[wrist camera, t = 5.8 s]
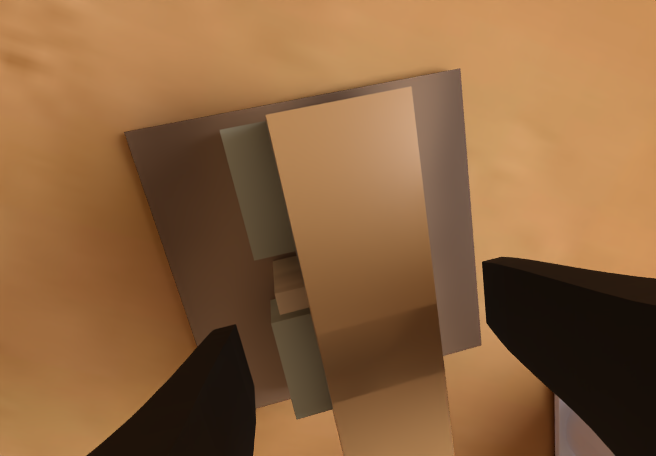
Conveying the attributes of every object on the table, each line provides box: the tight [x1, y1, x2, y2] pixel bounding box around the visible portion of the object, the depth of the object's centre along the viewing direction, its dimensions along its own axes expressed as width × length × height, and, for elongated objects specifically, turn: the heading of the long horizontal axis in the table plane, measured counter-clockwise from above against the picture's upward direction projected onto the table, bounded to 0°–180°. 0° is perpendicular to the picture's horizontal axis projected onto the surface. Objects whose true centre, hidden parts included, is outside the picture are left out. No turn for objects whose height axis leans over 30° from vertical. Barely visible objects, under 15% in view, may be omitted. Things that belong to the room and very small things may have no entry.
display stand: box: [124, 69, 481, 419], centre depth 14 cm, size 13×13×4 cm
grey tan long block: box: [266, 86, 455, 456], centre depth 11 cm, size 3×12×5 cm, turn 11°
